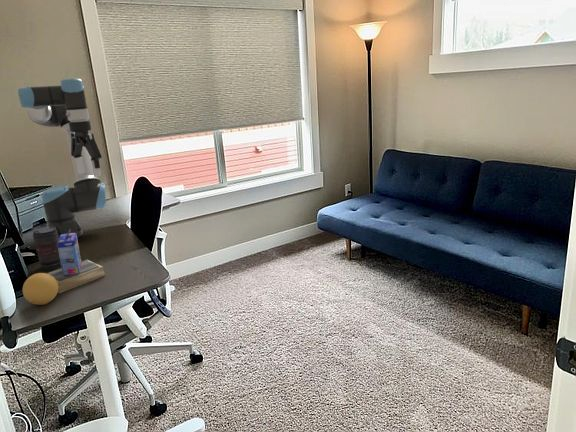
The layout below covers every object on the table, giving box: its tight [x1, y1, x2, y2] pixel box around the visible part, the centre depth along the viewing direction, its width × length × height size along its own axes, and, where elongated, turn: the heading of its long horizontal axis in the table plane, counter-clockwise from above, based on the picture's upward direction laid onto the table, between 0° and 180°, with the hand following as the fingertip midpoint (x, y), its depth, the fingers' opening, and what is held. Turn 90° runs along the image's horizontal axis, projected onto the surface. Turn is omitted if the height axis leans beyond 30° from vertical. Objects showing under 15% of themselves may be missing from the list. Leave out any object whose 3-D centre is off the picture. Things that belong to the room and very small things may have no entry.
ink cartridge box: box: [57, 229, 82, 276], centre depth 153 cm, size 10×6×14 cm, turn 20°
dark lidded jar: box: [32, 226, 62, 270], centre depth 168 cm, size 8×8×15 cm
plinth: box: [47, 259, 106, 294], centre depth 155 cm, size 12×16×4 cm
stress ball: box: [22, 272, 59, 306], centre depth 139 cm, size 10×10×10 cm
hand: (89, 175), depth 176 cm, fingers open, 13 cm apart
